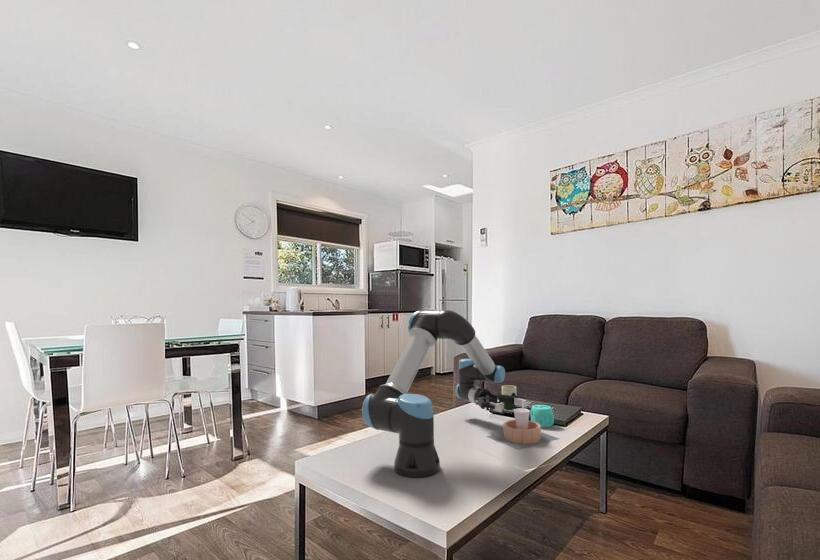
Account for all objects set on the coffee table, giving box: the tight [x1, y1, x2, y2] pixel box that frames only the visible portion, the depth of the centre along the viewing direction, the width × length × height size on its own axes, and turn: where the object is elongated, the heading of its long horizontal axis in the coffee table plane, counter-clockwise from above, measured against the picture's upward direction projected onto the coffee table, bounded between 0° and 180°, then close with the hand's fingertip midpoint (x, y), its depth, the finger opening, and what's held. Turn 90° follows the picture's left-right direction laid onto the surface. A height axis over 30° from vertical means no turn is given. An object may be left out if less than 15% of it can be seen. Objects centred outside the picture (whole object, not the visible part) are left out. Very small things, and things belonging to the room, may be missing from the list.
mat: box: [485, 431, 560, 451], centre depth 164 cm, size 22×18×1 cm
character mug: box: [501, 384, 518, 410], centre depth 202 cm, size 11×7×13 cm, turn 143°
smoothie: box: [513, 398, 531, 429], centre depth 165 cm, size 6×6×14 cm
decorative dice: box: [529, 404, 555, 428], centre depth 181 cm, size 8×8×8 cm
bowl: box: [502, 419, 542, 444], centre depth 164 cm, size 14×14×5 cm
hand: (513, 406), depth 169 cm, fingers open, 13 cm apart
